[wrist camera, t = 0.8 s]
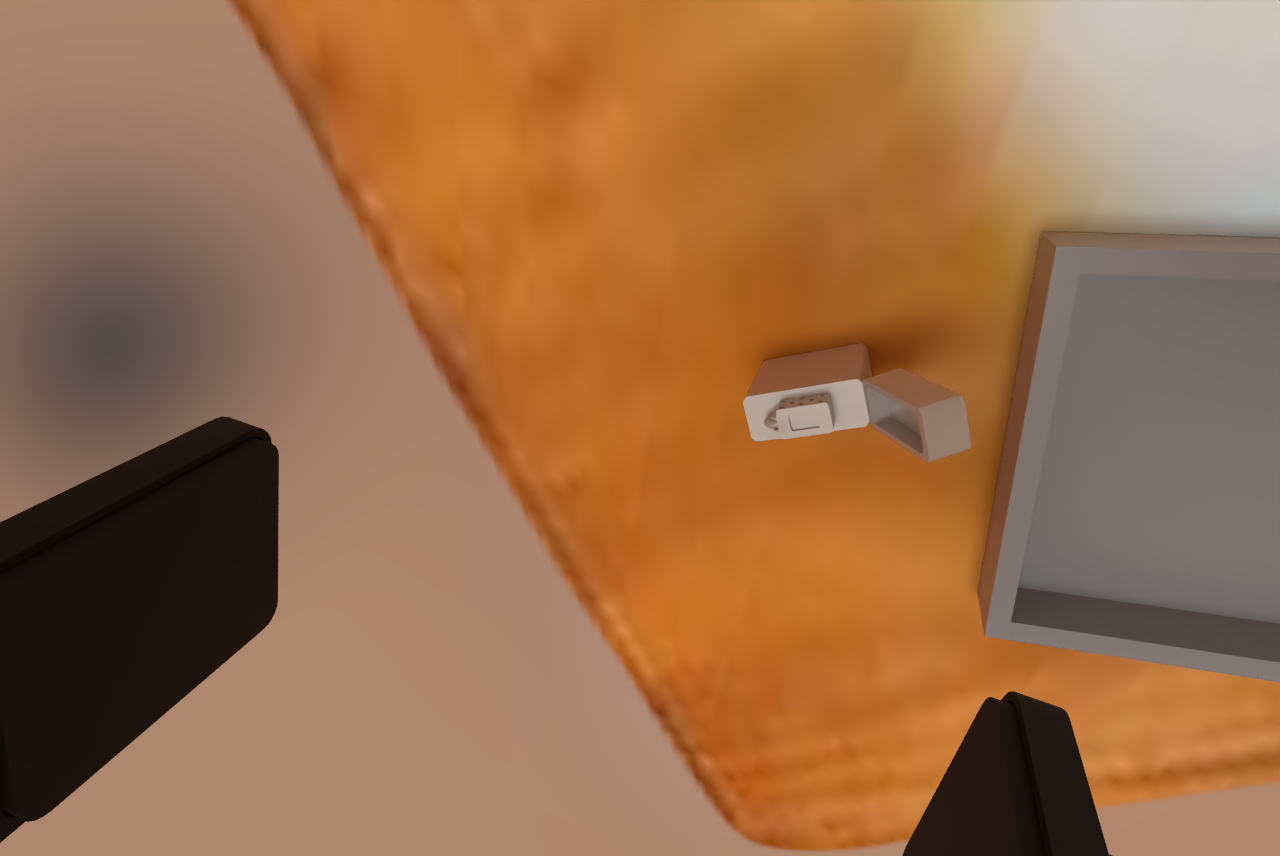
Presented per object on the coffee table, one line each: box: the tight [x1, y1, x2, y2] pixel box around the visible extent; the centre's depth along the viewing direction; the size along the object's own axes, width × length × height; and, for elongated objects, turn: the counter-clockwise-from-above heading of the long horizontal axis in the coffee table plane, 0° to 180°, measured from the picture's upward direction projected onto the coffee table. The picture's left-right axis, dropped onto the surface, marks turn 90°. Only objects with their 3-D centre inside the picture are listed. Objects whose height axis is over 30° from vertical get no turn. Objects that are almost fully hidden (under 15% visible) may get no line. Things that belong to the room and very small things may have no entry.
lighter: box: [743, 343, 971, 463], centre depth 27 cm, size 7×2×8 cm, turn 106°
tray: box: [978, 231, 1280, 682], centre depth 27 cm, size 15×15×3 cm
